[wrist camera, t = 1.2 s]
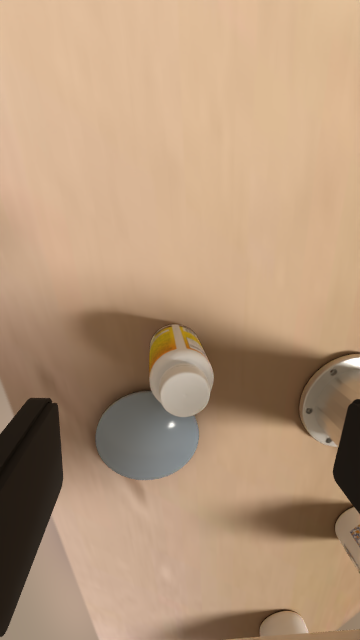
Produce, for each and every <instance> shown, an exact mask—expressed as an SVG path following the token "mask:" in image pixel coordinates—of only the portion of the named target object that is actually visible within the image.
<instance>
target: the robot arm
mask: <svg viewBox="0 0 360 640" xmlns="http://www.w3.org/2000/svg"><path fill="white" fill-rule="evenodd" d="M299 412H300V417H301V421H302V423H303V425H304V427H305V429H306V430H307V431H308V432H309V434H310V435H311V436H312V437H313V438H314V439H315V440H317V441H319V442H320V443H322V444H325V445H328V446H332V447H338V451H337V455H336V459H335V464H334V468H333V476H334V479H335V481H336V483H337V484H338V486H339V487H340V488H341V490H342V491H343V492H344V494H345V495H346V496H347V498H348V499H349V500H350V502H351V503H352V504H353V506H354V507H355V509H356V510H357V511H358V513H359V514H360V354H351V355H346V356H342V357H339V358H337V359H334V360H332V361H331V362H329V363H327V364H326V365H324V366H323V367H322V368H320V369H319V370H318V371H317V372H316V373H315V374H314V375H313V376H312V377H311V379H310V380H309V381H308V383H307V385H306V386H305V388H304V390H303V393H302V395H301V399H300V405H299ZM62 482H63V468H62V454H61V440H60V426H59V412H58V405H57V403H52V400H51V399H50V398H29V399H28V400H27V401H26V403H25V404H24V405H23V406H22V408H21V409H20V410H19V411H18V413H17V414H16V415H15V416H14V418H13V419H12V420H11V422H10V423H9V424H8V425H7V426H6V428H5V429H4V430H3V431H2V433H1V434H0V637H2V636H3V635H4V634H5V632H6V630H7V628H8V626H9V623H10V621H11V618H12V616H13V613H14V611H15V608H16V605H17V603H18V600H19V597H20V595H21V592H22V589H23V587H24V584H25V581H26V579H27V577H28V574H29V571H30V569H31V566H32V563H33V561H34V558H35V556H36V553H37V550H38V548H39V545H40V543H41V540H42V537H43V534H44V532H45V529H46V527H47V524H48V522H49V519H50V516H51V514H52V511H53V509H54V506H55V503H56V501H57V498H58V495H59V493H60V490H61V487H62ZM225 640H360V629H357V630H342V631H329V632H316V633H302V634H289V635H276V636H263V637H250V638H237V639H225Z"/></svg>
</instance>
